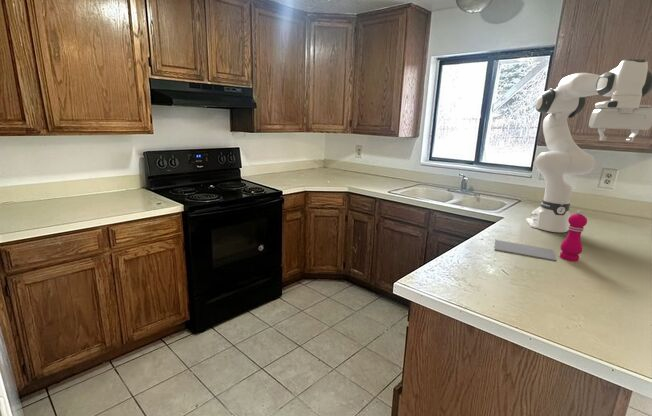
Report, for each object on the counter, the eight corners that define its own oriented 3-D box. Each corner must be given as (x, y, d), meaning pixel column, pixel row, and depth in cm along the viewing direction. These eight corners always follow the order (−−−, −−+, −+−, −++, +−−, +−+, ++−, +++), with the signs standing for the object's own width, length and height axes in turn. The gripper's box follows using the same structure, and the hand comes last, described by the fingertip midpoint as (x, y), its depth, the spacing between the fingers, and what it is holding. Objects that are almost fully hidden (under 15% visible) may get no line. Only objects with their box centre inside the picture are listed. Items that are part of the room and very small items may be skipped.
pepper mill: (557, 253, 145) (568, 207, 140) (578, 257, 141) (590, 210, 136) (558, 259, 139) (569, 210, 134) (580, 263, 135) (592, 214, 130)
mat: (552, 250, 148) (552, 249, 148) (556, 261, 137) (556, 260, 137) (495, 241, 157) (495, 239, 157) (494, 250, 146) (494, 249, 146)
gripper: (648, 105, 135) (639, 141, 138) (590, 103, 137) (583, 139, 141) (661, 104, 128) (651, 142, 132) (600, 102, 131) (592, 140, 135)
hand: (615, 141), depth 136 cm, fingers open, 8 cm apart
